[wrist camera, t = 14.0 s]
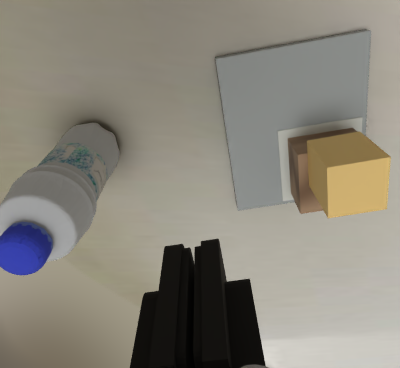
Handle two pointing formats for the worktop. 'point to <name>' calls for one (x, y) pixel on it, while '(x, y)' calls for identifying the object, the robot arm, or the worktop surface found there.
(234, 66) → the plate
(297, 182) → the walnut block
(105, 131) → the bottle
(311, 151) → the ochre block
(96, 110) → the worktop surface
